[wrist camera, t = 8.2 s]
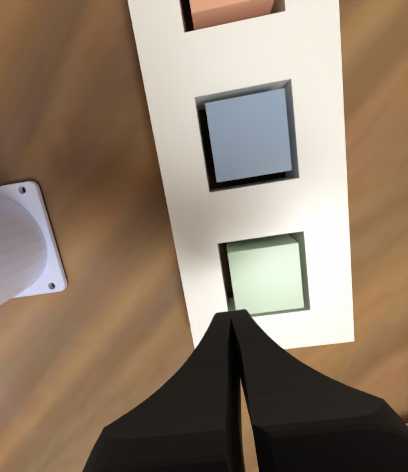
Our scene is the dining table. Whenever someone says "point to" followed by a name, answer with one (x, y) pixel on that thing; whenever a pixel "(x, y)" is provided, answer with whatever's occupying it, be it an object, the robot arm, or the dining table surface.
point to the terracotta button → (226, 11)
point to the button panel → (264, 192)
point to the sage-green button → (266, 273)
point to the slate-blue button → (249, 135)
